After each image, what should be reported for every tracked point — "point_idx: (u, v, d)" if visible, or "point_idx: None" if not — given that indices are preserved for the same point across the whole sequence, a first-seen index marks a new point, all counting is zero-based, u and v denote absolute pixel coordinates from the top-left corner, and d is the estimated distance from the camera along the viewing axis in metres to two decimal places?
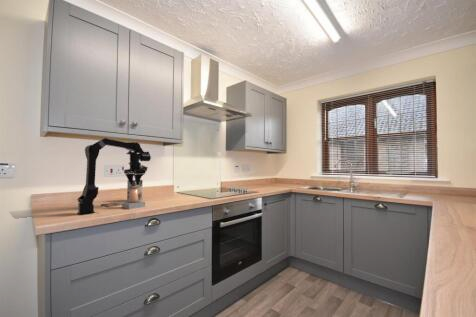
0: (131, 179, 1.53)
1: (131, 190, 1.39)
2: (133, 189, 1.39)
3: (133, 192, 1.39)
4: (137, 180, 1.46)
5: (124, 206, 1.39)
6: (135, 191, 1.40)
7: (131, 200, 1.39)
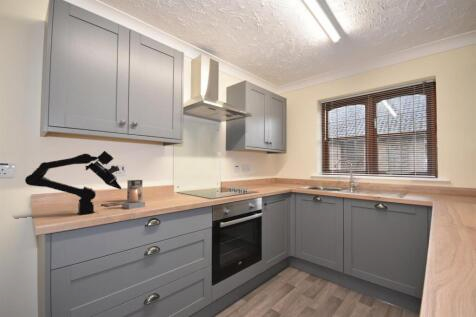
0: None
1: (131, 190, 1.39)
2: (133, 189, 1.39)
3: (133, 192, 1.39)
4: (116, 186, 1.32)
5: (124, 206, 1.39)
6: (135, 191, 1.40)
7: (131, 200, 1.39)
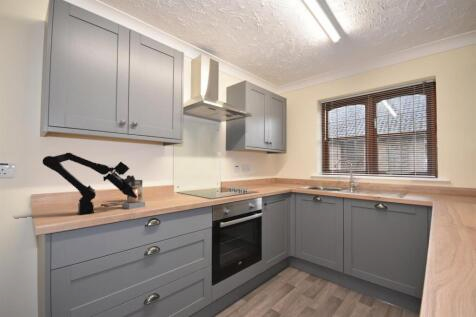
0: None
1: None
2: (133, 189, 1.39)
3: None
4: (132, 195, 1.38)
5: (124, 206, 1.39)
6: (135, 191, 1.40)
7: (131, 200, 1.39)
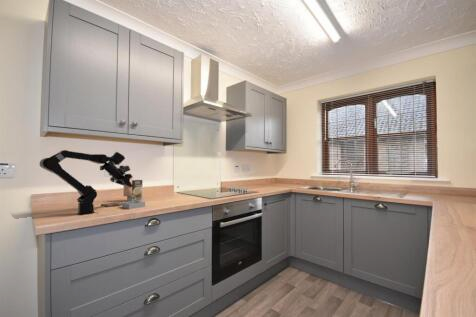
0: (124, 183, 1.49)
1: None
2: None
3: None
4: (128, 184, 1.45)
5: (124, 206, 1.39)
6: (130, 180, 1.47)
7: (126, 189, 1.45)
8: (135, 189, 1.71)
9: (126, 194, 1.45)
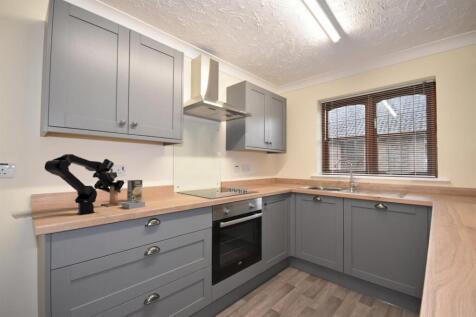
0: (108, 189, 1.51)
1: None
2: None
3: None
4: (119, 190, 1.50)
5: (124, 206, 1.39)
6: None
7: (114, 197, 1.49)
8: (135, 189, 1.71)
9: (114, 202, 1.49)
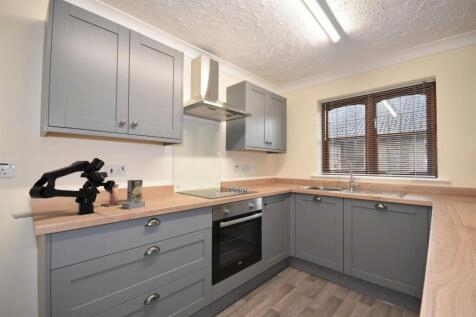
0: (96, 190, 1.42)
1: (114, 188, 1.49)
2: (116, 187, 1.50)
3: (116, 190, 1.50)
4: (111, 191, 1.41)
5: (124, 206, 1.39)
6: (117, 189, 1.52)
7: (114, 197, 1.49)
8: (135, 189, 1.71)
9: (114, 202, 1.49)
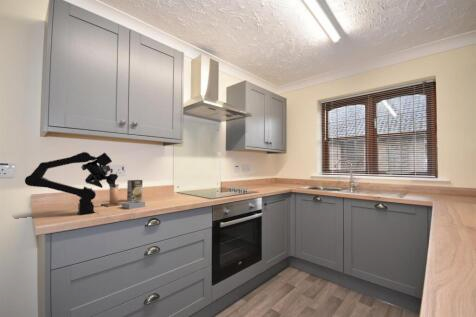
0: (99, 183, 1.42)
1: (114, 188, 1.50)
2: (116, 187, 1.51)
3: (116, 189, 1.50)
4: (113, 185, 1.40)
5: (124, 206, 1.39)
6: (117, 189, 1.52)
7: (114, 197, 1.49)
8: (135, 189, 1.71)
9: (114, 202, 1.49)
